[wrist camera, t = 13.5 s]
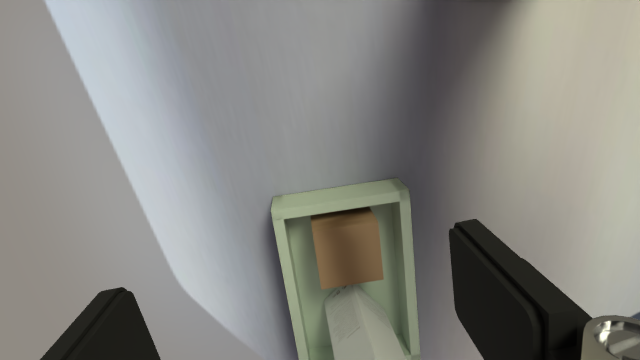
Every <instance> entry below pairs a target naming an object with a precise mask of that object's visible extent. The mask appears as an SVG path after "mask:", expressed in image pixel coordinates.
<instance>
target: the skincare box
mask: <svg viewBox="0 0 640 360" xmlns="http://www.w3.org/2000/svg"><path fill="white" fill-rule="evenodd" d="M324 306H325V311H326V316H327V322H328V327H329V332H330V338H331V343H332V349H333V354H334V359H335V360H406V357H405V355H404V353H403V351H402V348H401V346H400V344H399V342H398V340H397V337H396V335H395V333H394V331H393V328H392V326H391V324H390V322H389V319H388V317H387V315H386V313H385V310H384V308H383V307H382V306H381V305H380V304H379V303H377V302H376V301H375V300H374V299H373V298H372V297H371V296H369V295H368V294H367V293H366V292H365V291H364V290H362V289H361V288H360V287H359V286H358V285H357V284H353V285H347V286H341V287H338V288H337V289H336V290H335V291H334V292H332V293H331V294H330V295H329V296H328V297H327V298H326V299H325V300H324Z"/></svg>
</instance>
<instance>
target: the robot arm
mask: <svg viewBox="0 0 640 360" xmlns="http://www.w3.org/2000/svg"><path fill="white" fill-rule="evenodd" d="M449 241H450V254H451V266H452V279H453V291H454V303H455V310H456V313H457V316H458V318H459V320H460V322H461V323H462V325H463V326H464V328H465V330H466V331H467V333H468V334H469V336H470V338H471V339H472V341H473V342H474V344H475V346H476V347H477V349H478V350H479V352H480V354H481V355H482V357H483V358H484V360H640V320H637V319H633V318H631V317H624V316H617V315H611V316H600V317H597V318H592V317H591V316H589V315H588V314H587V313H586V312H585V311H584V310H583V309H581V308H580V307H579V306H578V305H577V304H576V303H574V302H573V301H572V300H571V299H570V298H569V297H568V296H566V295H565V294H564V293H563V292H562V291H561V290H560V289H558V288H557V287H556V286H555V285H554V284H553V283H551V282H550V281H549V280H548V279H547V278H546V277H545V276H543V275H542V274H541V273H540V272H539V271H538V270H537V269H535V268H534V267H533V266H532V265H531V264H530V263H528V262H527V261H526V260H524V259H523V258H520V257H519V256H518V255H517V254H516V253H515V252H513V251H512V250H511V249H510V248H509V247H508V246H507V245H505V244H504V243H503V242H502V241H501V240H500V239H499V238H498V237H496V236H495V235H494V234H493V233H492V232H491V231H490V230H488V229H487V228H486V227H485V226H484V225H483V224H482V223H480V222H479V221H478V220H477V219H473V220H467V221H462V222H457V223H455V225H454V228H452V229H450V230H449ZM40 360H160V357H159V354H158V352H157V350H156V347H155V345H154V342H153V340H152V338H151V335H150V333H149V331H148V328H147V326H146V323H145V321H144V318H143V316H142V314H141V311H140V309H139V306H138V304H137V302H136V299H135V297H134V295H133V293H132V292H131V291H127V290H126V289H125V288H123V287H120V288H116V289H110V290H105V291H101V292H100V293H98V294H97V296H96V297H95V298H94V299H93V300H92V301H91V303H90V304H89V305H88V306H87V307H86V308H85V310H84V311H83V312H82V313H81V314H80V315H79V316H78V317H77V318H76V319H75V321H74V322H73V323H72V324H71V325H70V326H69V328H68V329H67V330H66V331H65V332H64V333H63V334H62V335H61V336H60V338H59V339H58V340H57V341H56V342H55V343H54V345H53V346H52V347H51V348H50V349H49V350H48V351H47V352H46V354H45V355H44V356H43V357H42V358H41V359H40Z"/></svg>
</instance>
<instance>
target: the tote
mask: <svg viewBox="0 0 640 360" xmlns="http://www.w3.org/2000/svg"><path fill="white" fill-rule="evenodd" d="M367 206H369V207H370V209H371V210H372V212H373V214H374V215H375V217H376V219H377V221H378V225H379V235H380V246H381V256H382V267H383V277H384V280H378V281H372V282H365V283H359V284H357V285H358V286H359V287H360V288H361V289H362V290H364V291H365V292H366V293H367V294H368V295H369V296H371V297H372V298H373V299H374V300H375V301H376V302H377V303H379V304H380V305H381V306H382V307H383V308H384V310H385V313H386V315H387V317H388V319H389V322H390V324H391V326H392V328H393V331H394V333H395V335H396V337H397V340H398V342H399V344H400V346H401V348H402V351H403V353H404V355H405V357H406V360H420V345H419V329H418V314H417V299H416V283H415V268H414V253H413V237H412V222H411V207H410V191H409V189H408V188H407V187H406V186H405V185H404V184H403V183H402V182H401V181H400V180H399V179H398V178H393V179H386V180H380V181H373V182H366V183H360V184H353V185H347V186H340V187H334V188H327V189H321V190H314V191H307V192H301V193H294V194H288V195H281V196H275V197H273V200H272V207H271V215H272V220H273V225H274V230H275V236H276V241H277V246H278V252H279V257H280V262H281V267H282V273H283V278H284V283H285V289H286V294H287V299H288V304H289V310H290V315H291V320H292V326H293V331H294V336H295V341H296V347H297V352H298V357H299V360H335V359H334V354H333V349H332V343H331V338H330V332H329V327H328V322H327V316H326V311H325V306H324V300H325V299H326V298H327V297H328V296H329V295H330V294H331V293H332V292H334V291H335V290H336V289H337V288H338V287H335V288H328V289H322V290H321V284H320V278H319V271H318V265H317V258H316V252H315V245H314V239H313V233H312V225H311V217H310V215H315V214H321V213H328V212H334V211H341V210H347V209H354V208H360V207H367Z"/></svg>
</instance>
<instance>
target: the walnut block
mask: <svg viewBox="0 0 640 360" xmlns="http://www.w3.org/2000/svg"><path fill="white" fill-rule="evenodd" d="M310 217H311V225H312V233H313V239H314V245H315V252H316V258H317V265H318V271H319V278H320V284H321V290H322V289H328V288H335V287H341V286H347V285H353V284H359V283H365V282H372V281H378V280H384V277H383V267H382V256H381V246H380V235H379V225H378V221H377V219H376V217H375V215H374V214H373V212H372V210H371V209H370V207H369V206H367V207H360V208H354V209H347V210H341V211H334V212H328V213H321V214H315V215H310Z"/></svg>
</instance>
